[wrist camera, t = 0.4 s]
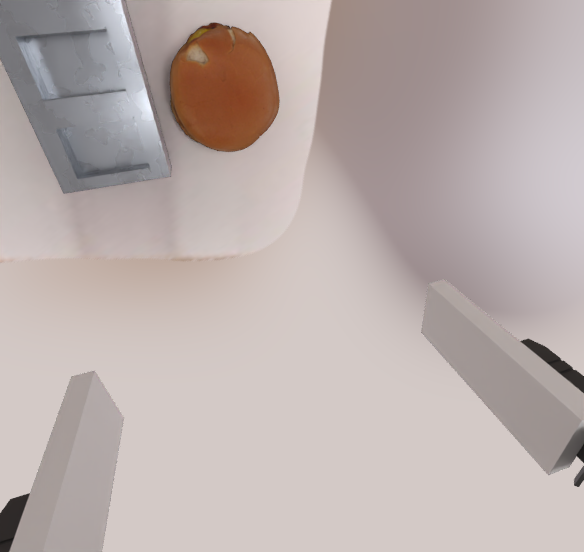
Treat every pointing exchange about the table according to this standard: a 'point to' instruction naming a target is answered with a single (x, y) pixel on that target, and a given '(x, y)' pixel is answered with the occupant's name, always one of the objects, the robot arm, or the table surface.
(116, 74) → the grey compartment tray
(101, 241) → the table surface
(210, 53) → the burger
